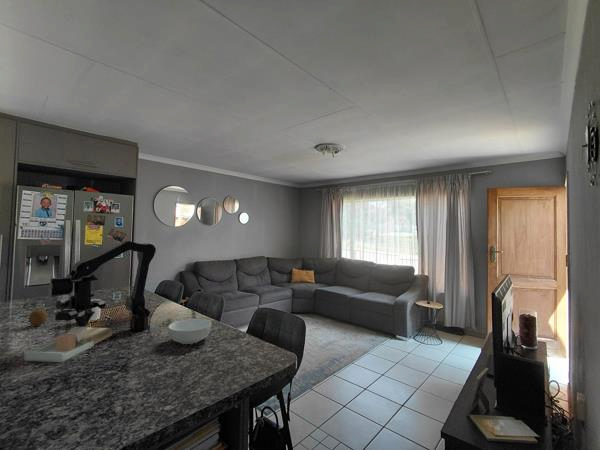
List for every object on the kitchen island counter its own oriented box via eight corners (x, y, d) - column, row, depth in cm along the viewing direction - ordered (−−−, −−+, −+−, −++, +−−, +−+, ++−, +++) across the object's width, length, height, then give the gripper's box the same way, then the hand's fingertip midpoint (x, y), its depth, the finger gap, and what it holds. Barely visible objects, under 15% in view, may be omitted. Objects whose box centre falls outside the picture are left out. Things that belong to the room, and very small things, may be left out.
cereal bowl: (219, 337, 124) (219, 321, 125) (189, 352, 109) (190, 333, 109) (190, 331, 132) (190, 315, 132) (158, 344, 116) (158, 326, 117)
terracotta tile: (75, 334, 111) (68, 337, 108) (75, 347, 111) (68, 350, 108) (63, 333, 111) (56, 336, 108) (63, 346, 111) (56, 350, 108)
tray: (93, 346, 114) (93, 338, 114) (61, 362, 100) (62, 353, 100) (59, 344, 115) (60, 336, 115) (24, 360, 101) (24, 351, 101)
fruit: (25, 327, 134) (26, 309, 134) (41, 323, 139) (42, 306, 140) (33, 329, 131) (33, 311, 131) (49, 324, 137) (50, 308, 137)
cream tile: (88, 333, 117) (86, 327, 116) (78, 341, 112) (76, 335, 111) (76, 332, 117) (74, 326, 116) (66, 341, 112) (64, 335, 111)
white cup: (90, 324, 139) (91, 303, 139) (77, 323, 140) (77, 302, 140) (104, 319, 146) (105, 299, 146) (91, 318, 148) (92, 298, 148)
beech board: (111, 335, 125) (112, 328, 125) (91, 345, 114) (91, 338, 114) (85, 334, 126) (85, 327, 126) (62, 344, 115) (62, 337, 115)
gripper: (82, 286, 127) (82, 322, 127) (41, 297, 108) (40, 338, 108) (107, 287, 126) (106, 323, 126) (69, 298, 107) (68, 340, 107)
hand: (81, 330), depth 117 cm, fingers closed
